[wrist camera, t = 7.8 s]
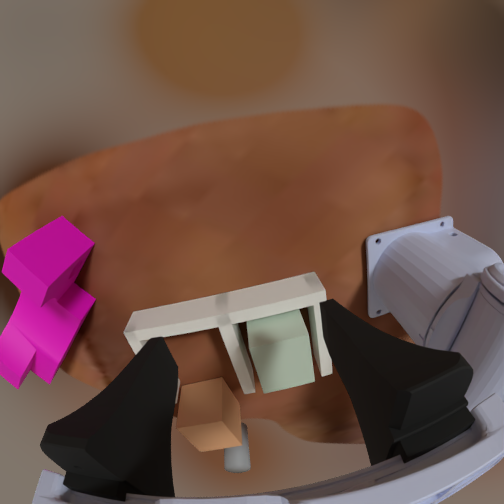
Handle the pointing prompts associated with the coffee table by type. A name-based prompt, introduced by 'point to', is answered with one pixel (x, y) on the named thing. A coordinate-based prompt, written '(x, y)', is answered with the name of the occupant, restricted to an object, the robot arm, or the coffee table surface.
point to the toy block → (44, 301)
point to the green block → (281, 351)
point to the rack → (236, 319)
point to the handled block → (214, 422)
